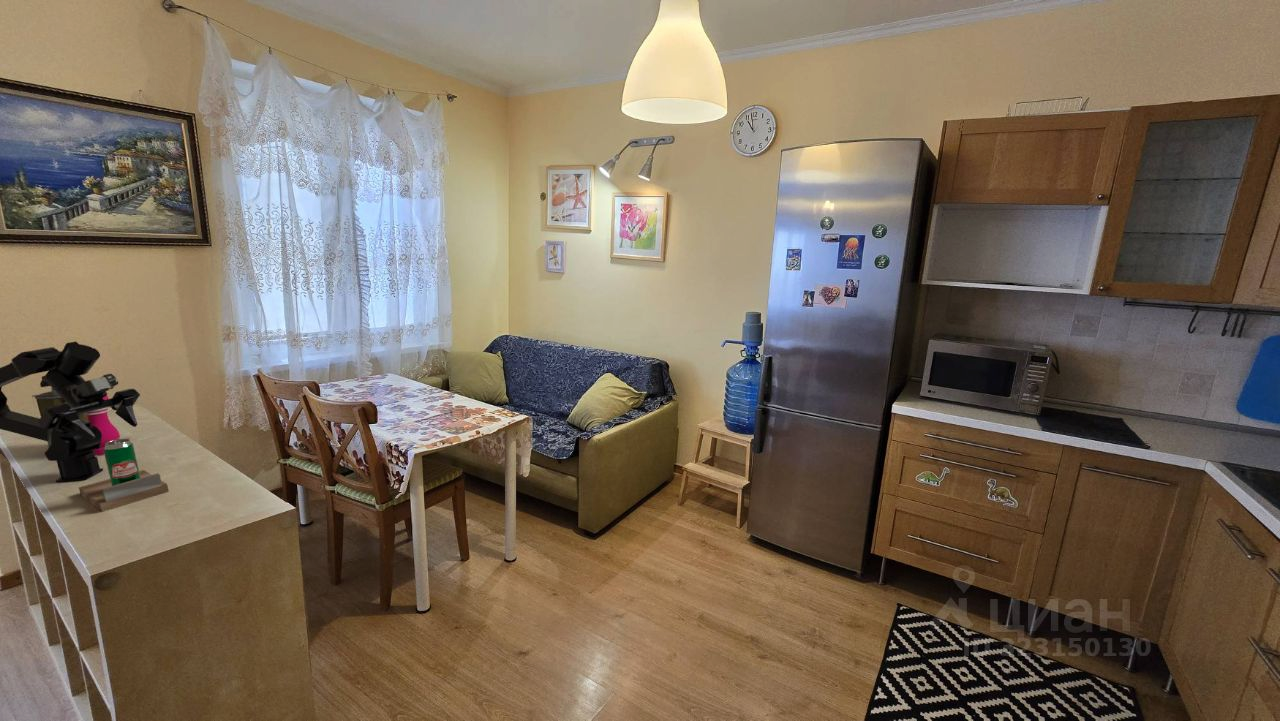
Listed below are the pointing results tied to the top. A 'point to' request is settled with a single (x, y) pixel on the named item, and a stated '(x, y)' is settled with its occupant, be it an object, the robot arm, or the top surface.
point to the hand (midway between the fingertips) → (115, 431)
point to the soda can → (121, 461)
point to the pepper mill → (103, 427)
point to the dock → (123, 491)
